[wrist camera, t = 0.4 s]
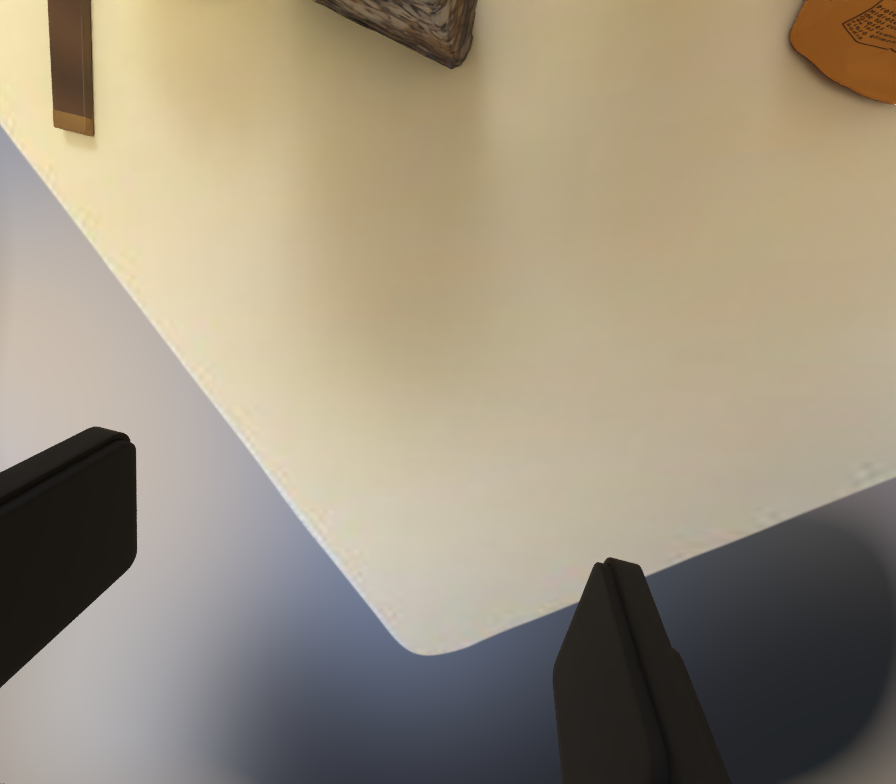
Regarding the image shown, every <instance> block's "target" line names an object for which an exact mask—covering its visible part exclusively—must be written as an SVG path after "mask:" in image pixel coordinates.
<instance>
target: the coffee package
mask: <svg viewBox="0 0 896 784" xmlns="http://www.w3.org/2000/svg"><path fill="white" fill-rule="evenodd" d="M790 40H791V43H792V45H793V46H794V48H795V49H796V50H797V51H798V52H799V53H801V54H802V55H804V56H805V57H807V58H808V59H809V60H810V61H811V62H812V63H813V64H815V65H816V66H817V67H818V68H819V69H820V70H821V71H822V72H823V73H824V74H826V75H827V76H828V77H829V78H831V79H832V80H834V81H836V82H837V83H839V84H840V85H843V86H846V87H849V88H851V89H852V90H853V91H855V92H856V93H859V94H861V95H863V96H865V97H868V98H872V99H876V100H879V101H882V102H885V103H888V104H896V0H806V2H805V3H804V5H803V7H802V9H801V11H800V13H799V15H798V17H797V19H796V21H795V23H794V25H793V27H792V30H791V32H790Z"/></svg>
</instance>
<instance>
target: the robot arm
mask: <svg viewBox="0 0 896 784" xmlns="http://www.w3.org/2000/svg"><path fill="white" fill-rule="evenodd" d="M136 502H137V501H136V448H135V446H134V444H132V443H130V439H129V437H128V436H127V435H126V434H124V433H121V432H117V431H113V430H109V429H105V428H101V427H92V428H89V429H86V430H84V431H82V432H80V433H78V434H77V435H75V436H72V437H71V438H68V439H66V440H65V441H63V442H61V443H59V444H56V445H54V446H52V447H50V448H48V449H46V450H45V451H43V452H40V453H38V454H36V455H34V456H33V457H30V458H29V459H27V460H24V461H22V462H20V463H18V464H17V465H14V466H13V467H11V468H9V469H7V470H5V471H2V472H0V687H2V685H4V684H5V683H6V682H7V681H8V680H9V679H10V678H11V677H12V676H13V675H15V674H16V673H17V672H18V671H19V670H20V669H21V668H22V667H23V666H24V665H25V664H26V663H27V662H29V661H30V660H31V659H32V658H33V657H34V656H35V655H36V654H37V653H38V652H39V651H40V650H42V649H43V648H44V647H45V646H46V645H47V644H48V643H49V642H50V641H51V640H52V639H53V638H55V637H56V636H57V635H58V634H59V633H60V632H61V631H62V630H63V629H64V628H65V627H66V626H68V625H69V624H70V623H71V622H72V621H73V620H74V619H75V618H76V617H77V616H78V615H79V614H81V613H82V612H83V611H84V610H85V609H86V608H87V607H88V606H89V605H90V604H91V603H92V602H94V601H95V600H96V599H97V598H98V597H99V596H100V595H101V594H102V593H103V592H104V591H105V590H106V589H108V588H109V587H110V586H111V585H112V584H113V583H114V582H115V581H116V580H117V579H118V578H119V577H121V576H122V575H123V574H124V573H125V572H126V571H127V570H128V569H129V568H130V566H131V565H132V563H133V561H134V559H135V557H136V554H137V506H136V505H137V504H136ZM553 690H554V700H555V710H556V720H557V730H558V741H559V751H560V760H561V771H562V781H563V784H732V783H731V780H730V778H729V776H728V773H727V771H726V768H725V765H724V763H723V760H722V758H721V755H720V753H719V750H718V748H717V745H716V743H715V740H714V738H713V735H712V733H711V730H710V728H709V725H708V723H707V720H706V718H705V715H704V712H703V710H702V708H701V705H700V702H699V700H698V697H697V695H696V692H695V690H694V688H693V685H692V682H691V680H690V677H689V675H688V672H687V670H686V667H685V665H684V662H683V660H682V658H681V656H680V654H679V653H678V652H677V651H676V650H675V649H674V648H672V647H671V644H670V641H669V639H668V636H667V634H666V631H665V628H664V626H663V624H662V621H661V618H660V615H659V613H658V610H657V608H656V605H655V602H654V600H653V597H652V595H651V592H650V589H649V587H648V584H647V582H646V579H645V576H644V574H643V571H642V569H641V567H640V566H639V565H637V564H634V563H630V562H626V561H622V560H618V559H615V558H611V557H609V558H607V559H606V560H605V562H604V564H603V563H599V562H597V563H596V564H595V565H594V567H593V569H592V571H591V574H590V576H589V579H588V581H587V584H586V586H585V589H584V591H583V594H582V596H581V599H580V601H579V604H578V606H577V609H576V611H575V614H574V616H573V619H572V621H571V624H570V627H569V629H568V631H567V634H566V636H565V639H564V641H563V644H562V646H561V649H560V651H559V654H558V656H557V659H556V661H555V665H554V670H553ZM0 784H3V783H0Z"/></svg>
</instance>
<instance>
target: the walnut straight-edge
mask: <svg viewBox="0 0 896 784" xmlns="http://www.w3.org/2000/svg"><path fill="white" fill-rule="evenodd" d="M48 17H49V37H50V56H51V76H52V95H53V122H54V127H56V128H60V129H64V130H68V131H72V132H76V133H80V134H85V135H89V136H93V135H94V132H93V98H92V59H91V21H90V0H48Z"/></svg>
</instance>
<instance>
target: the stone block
mask: <svg viewBox="0 0 896 784" xmlns="http://www.w3.org/2000/svg"><path fill="white" fill-rule="evenodd" d="M313 1H315V2H317V3H319V4H322V5H324V6H326V7H328V8H330V9H331V10H333V11H335V12H337V13H338V14H340V15H342V16H344V17H346V18H348V19H350V20H352V21H354V22H356V23H358V24H360V25H362V26H364V27H366V28H369V29H371V30H374V31H376V32H378V33H380V34H382V35H384V36H386V37H388V38H390V39H392V40H394V41H396V42H398V43H400V44H402V45H404V46H406V47H408V48H410V49H412V50H414V51H416V52H418V53H420V54H422V55H424V56H425V57H428V58H430V59H432V60H435V61H437V62H438V63H440V64H442V65H444V66H446V67H448V68H450V69H453V68H454V67H458V66H460V65H461V64H462V63H463V61H464V60H465V59H466V56H467V53H468V52H469V50H470V48H471V44H472V39H473V36H472V29H473V24H474V18H475V9H476V5H477V1H478V0H313Z"/></svg>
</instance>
